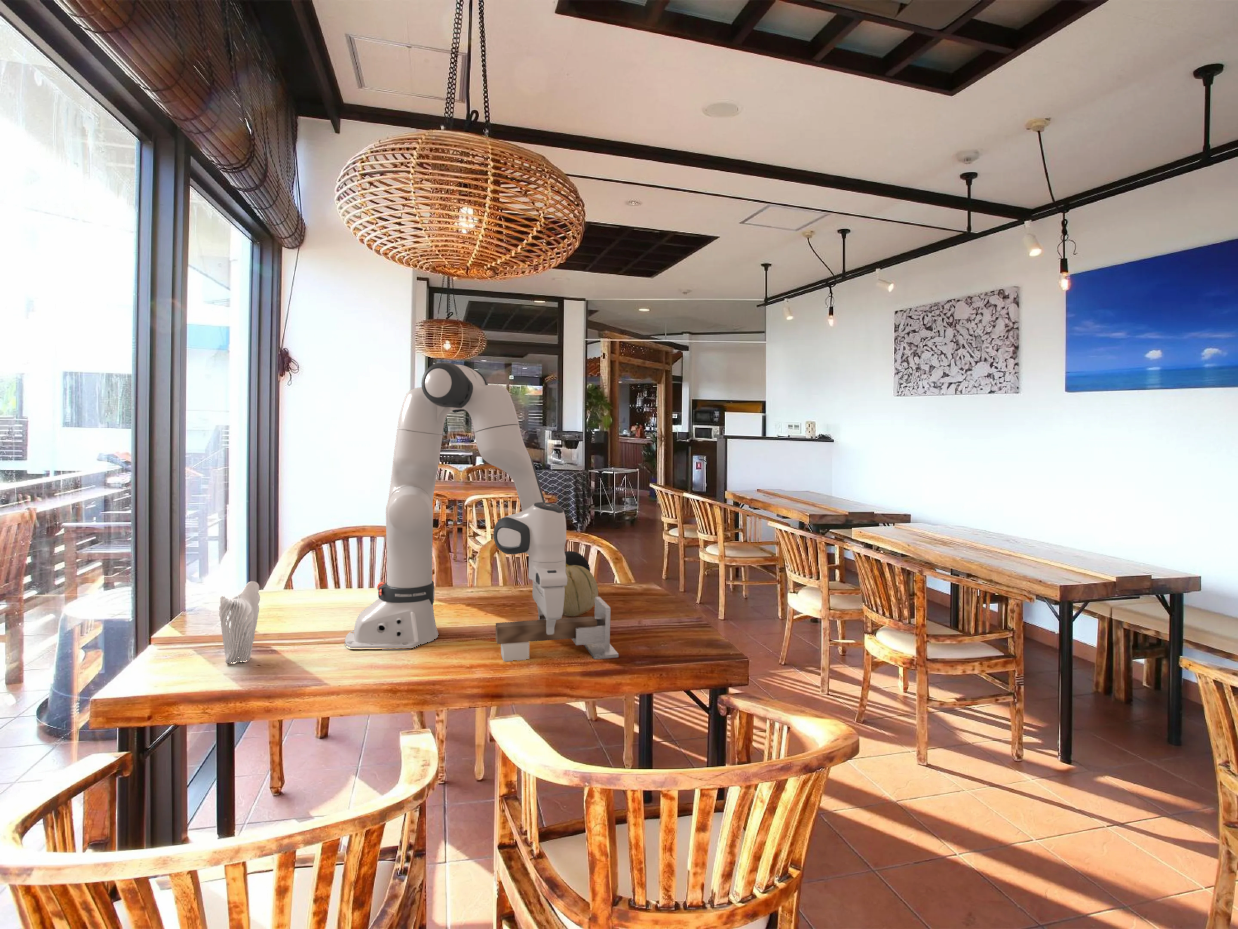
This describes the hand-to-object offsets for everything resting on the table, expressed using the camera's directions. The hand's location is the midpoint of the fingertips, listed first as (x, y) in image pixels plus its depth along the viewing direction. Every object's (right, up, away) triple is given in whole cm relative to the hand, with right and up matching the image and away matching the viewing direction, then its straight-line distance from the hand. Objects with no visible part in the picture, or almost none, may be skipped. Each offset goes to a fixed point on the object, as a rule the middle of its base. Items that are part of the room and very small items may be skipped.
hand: (546, 627), depth 163 cm
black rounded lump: (+2, -3, +51) cm, 51 cm away
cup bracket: (+11, -7, +4) cm, 13 cm away
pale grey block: (-7, -7, -2) cm, 10 cm away
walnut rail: (0, -3, 0) cm, 3 cm away
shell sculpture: (-69, -6, -9) cm, 70 cm away
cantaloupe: (+4, -5, +33) cm, 34 cm away
